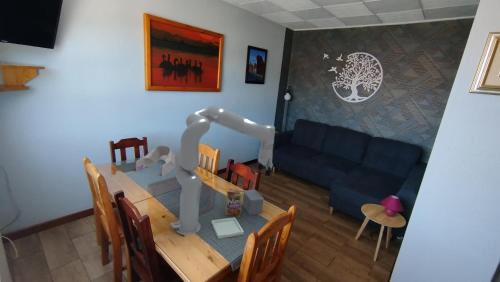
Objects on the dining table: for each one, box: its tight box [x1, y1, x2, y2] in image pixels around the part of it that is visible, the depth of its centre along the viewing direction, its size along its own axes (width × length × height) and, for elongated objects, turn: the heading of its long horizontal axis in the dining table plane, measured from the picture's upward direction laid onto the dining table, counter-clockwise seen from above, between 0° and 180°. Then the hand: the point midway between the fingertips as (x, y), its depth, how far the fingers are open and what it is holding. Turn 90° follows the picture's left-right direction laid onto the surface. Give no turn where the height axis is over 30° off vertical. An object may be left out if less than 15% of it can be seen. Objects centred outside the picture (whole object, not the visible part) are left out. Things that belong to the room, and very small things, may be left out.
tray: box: [211, 216, 245, 240], centre depth 122 cm, size 14×14×2 cm
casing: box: [135, 144, 175, 178], centre depth 188 cm, size 28×23×20 cm
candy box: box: [224, 188, 244, 218], centre depth 135 cm, size 9×4×15 cm, turn 81°
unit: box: [242, 189, 265, 216], centre depth 143 cm, size 9×13×11 cm
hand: (263, 172), depth 141 cm, fingers open, 9 cm apart
